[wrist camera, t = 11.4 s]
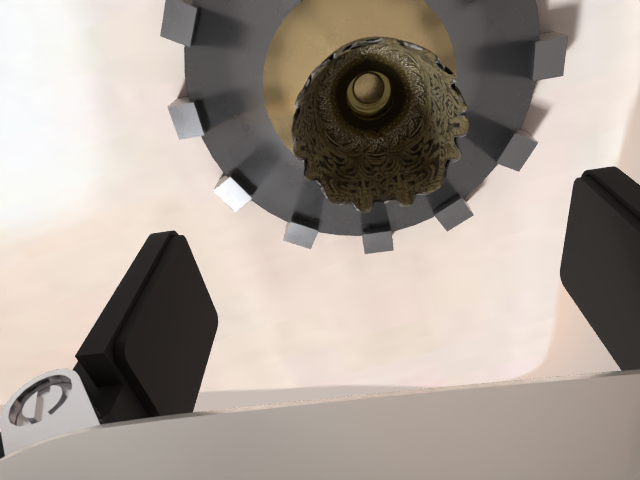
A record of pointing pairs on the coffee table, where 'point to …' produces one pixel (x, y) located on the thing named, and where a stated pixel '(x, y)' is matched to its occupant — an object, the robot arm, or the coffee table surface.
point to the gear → (311, 50)
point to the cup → (379, 124)
